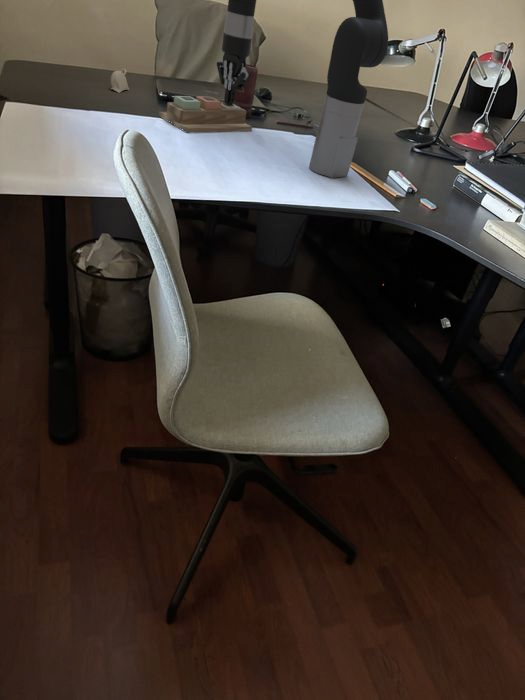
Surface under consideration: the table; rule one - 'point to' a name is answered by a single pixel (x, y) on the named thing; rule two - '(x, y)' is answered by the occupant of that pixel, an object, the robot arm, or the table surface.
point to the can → (247, 91)
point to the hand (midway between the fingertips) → (228, 103)
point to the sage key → (186, 103)
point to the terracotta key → (209, 103)
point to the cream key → (229, 106)
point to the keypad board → (206, 119)
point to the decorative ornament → (119, 81)
